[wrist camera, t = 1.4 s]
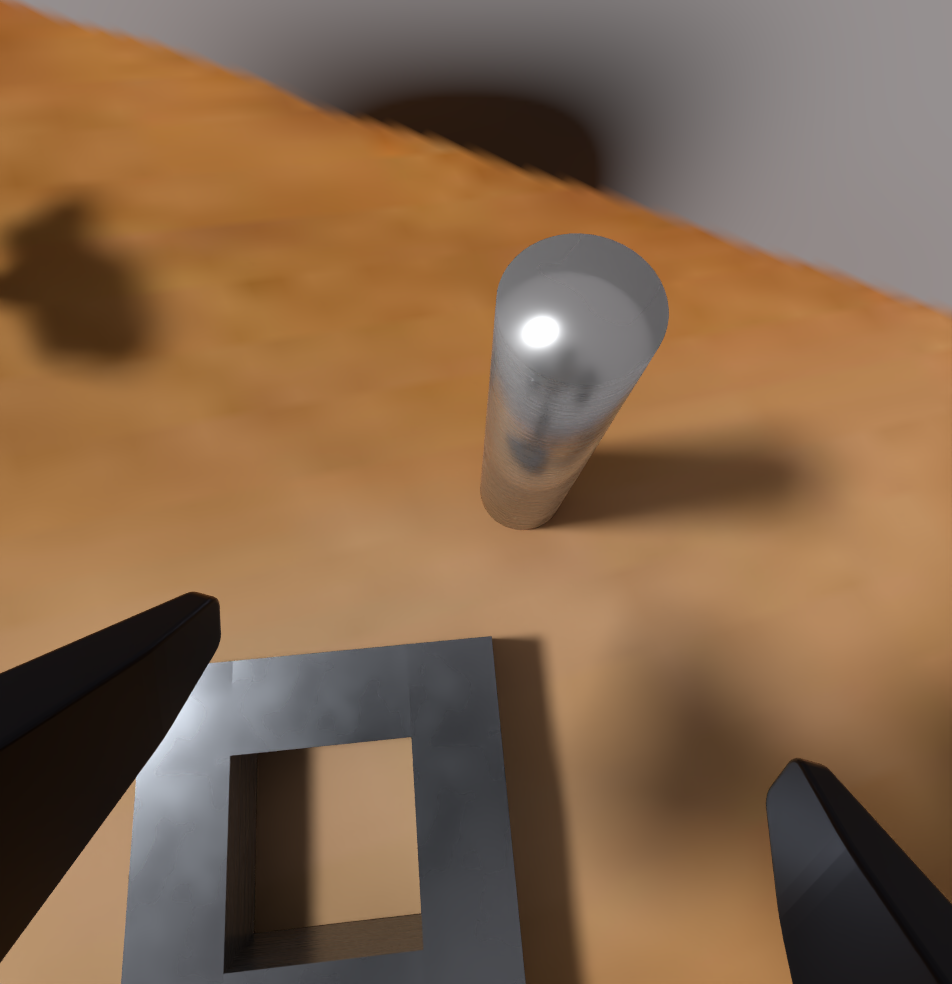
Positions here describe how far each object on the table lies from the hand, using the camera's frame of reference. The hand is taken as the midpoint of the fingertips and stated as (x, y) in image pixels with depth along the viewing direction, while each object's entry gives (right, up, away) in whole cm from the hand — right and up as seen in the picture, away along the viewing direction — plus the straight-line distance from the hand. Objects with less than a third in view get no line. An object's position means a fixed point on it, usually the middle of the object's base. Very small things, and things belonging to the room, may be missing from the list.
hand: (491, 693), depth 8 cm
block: (-5, -9, +11) cm, 15 cm away
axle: (+2, +3, +15) cm, 16 cm away
